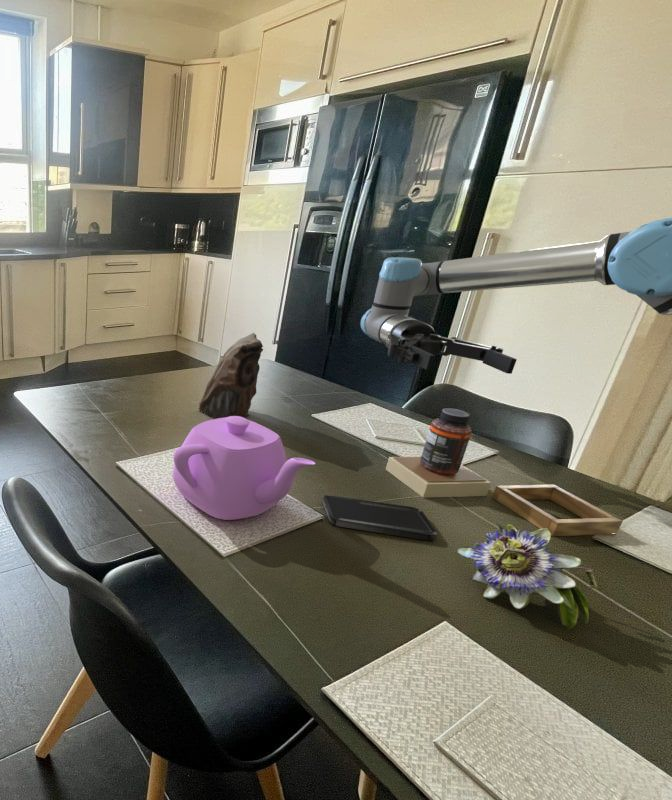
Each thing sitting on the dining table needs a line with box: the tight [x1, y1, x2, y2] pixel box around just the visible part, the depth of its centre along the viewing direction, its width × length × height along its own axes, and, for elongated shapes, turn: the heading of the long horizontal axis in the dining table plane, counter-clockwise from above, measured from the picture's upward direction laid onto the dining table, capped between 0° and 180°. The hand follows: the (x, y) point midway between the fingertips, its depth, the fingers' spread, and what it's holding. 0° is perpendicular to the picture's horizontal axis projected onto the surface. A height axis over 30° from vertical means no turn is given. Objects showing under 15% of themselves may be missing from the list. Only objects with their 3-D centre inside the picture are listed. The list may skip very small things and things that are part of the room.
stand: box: [385, 456, 492, 499], centre depth 90 cm, size 12×10×3 cm
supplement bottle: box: [420, 407, 473, 475], centre depth 88 cm, size 6×6×11 cm
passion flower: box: [456, 522, 598, 629], centre depth 63 cm, size 11×11×12 cm
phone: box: [321, 494, 438, 542], centre depth 79 cm, size 8×1×15 cm
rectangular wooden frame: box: [491, 483, 623, 537], centre depth 81 cm, size 11×11×2 cm
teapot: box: [172, 416, 316, 521], centre depth 79 cm, size 23×21×15 cm
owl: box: [198, 332, 264, 419], centre depth 115 cm, size 13×13×20 cm
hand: (471, 364), depth 87 cm, fingers open, 13 cm apart
